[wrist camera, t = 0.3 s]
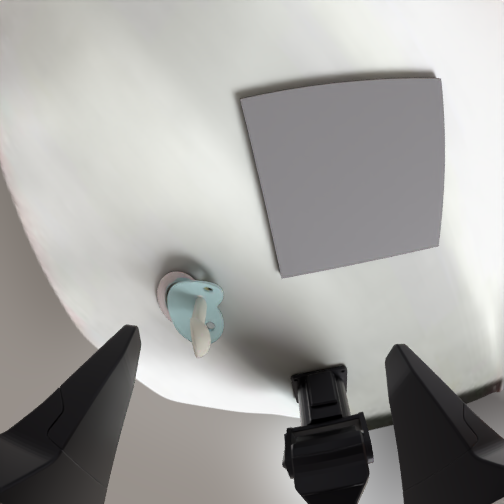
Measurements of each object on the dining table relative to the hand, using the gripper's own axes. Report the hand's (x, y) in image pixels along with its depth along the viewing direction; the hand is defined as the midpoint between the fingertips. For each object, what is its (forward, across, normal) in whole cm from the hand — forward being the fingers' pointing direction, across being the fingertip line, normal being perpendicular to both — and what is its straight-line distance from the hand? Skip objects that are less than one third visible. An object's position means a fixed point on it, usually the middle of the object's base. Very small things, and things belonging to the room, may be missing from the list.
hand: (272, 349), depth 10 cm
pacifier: (+14, +5, +10) cm, 18 cm away
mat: (+14, -7, -2) cm, 15 cm away
